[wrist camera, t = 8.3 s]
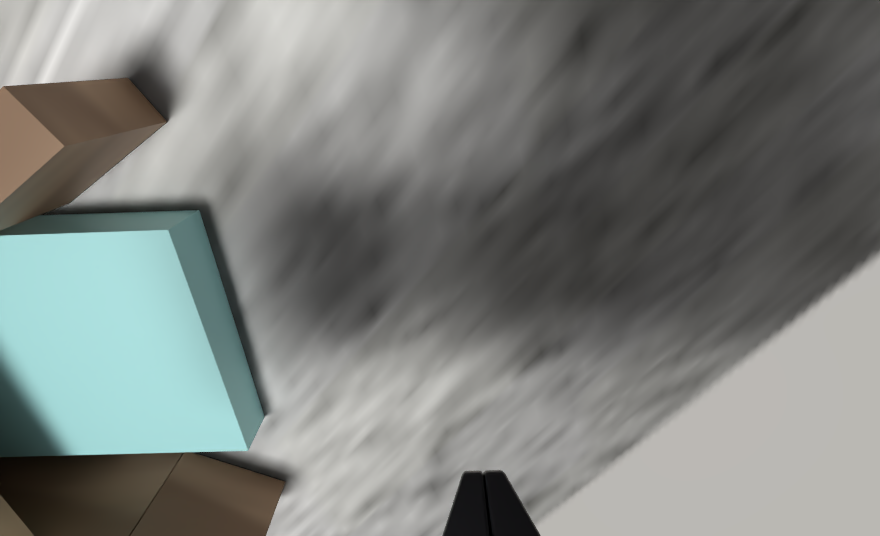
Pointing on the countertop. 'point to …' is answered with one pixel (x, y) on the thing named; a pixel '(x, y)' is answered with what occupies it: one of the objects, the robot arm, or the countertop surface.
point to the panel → (119, 339)
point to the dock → (108, 475)
